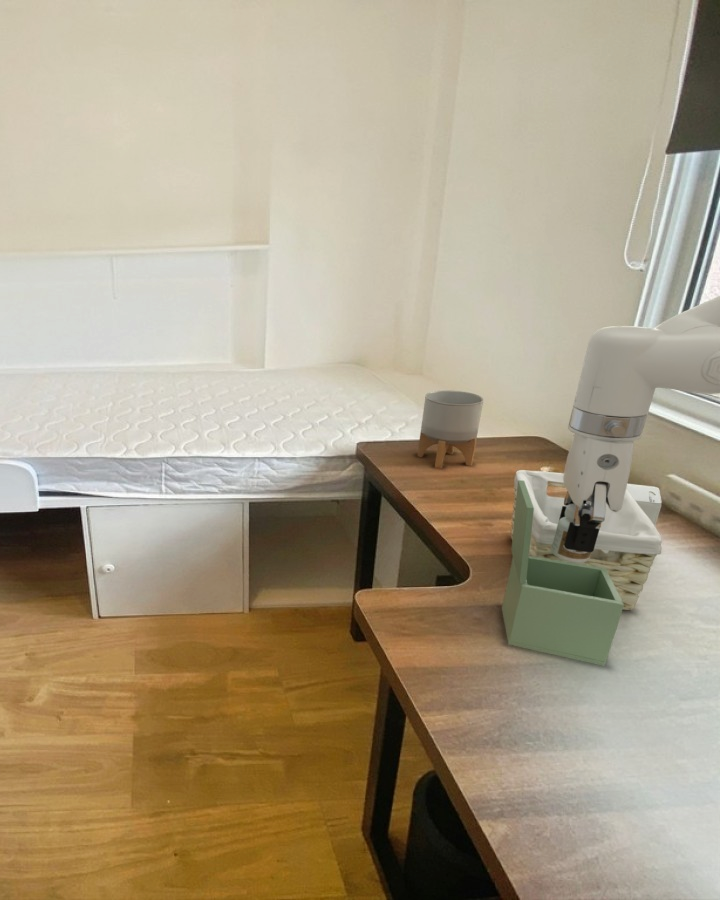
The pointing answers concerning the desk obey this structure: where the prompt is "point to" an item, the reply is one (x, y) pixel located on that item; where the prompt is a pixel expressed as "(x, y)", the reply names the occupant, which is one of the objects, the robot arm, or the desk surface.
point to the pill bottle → (560, 537)
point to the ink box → (647, 499)
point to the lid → (522, 531)
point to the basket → (618, 542)
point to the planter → (450, 424)
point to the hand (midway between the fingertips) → (574, 539)
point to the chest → (562, 609)
